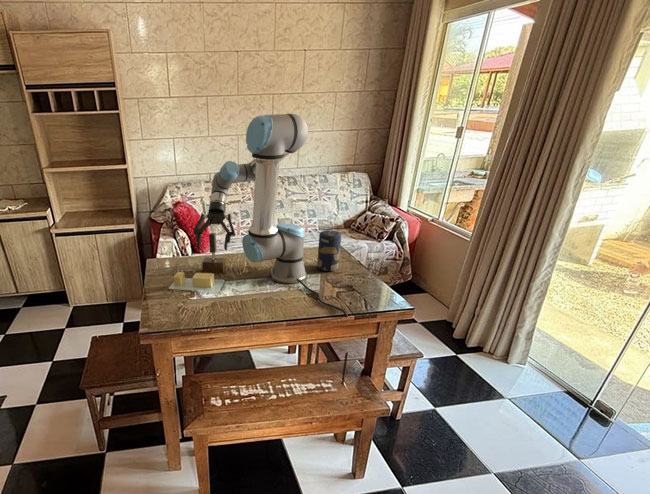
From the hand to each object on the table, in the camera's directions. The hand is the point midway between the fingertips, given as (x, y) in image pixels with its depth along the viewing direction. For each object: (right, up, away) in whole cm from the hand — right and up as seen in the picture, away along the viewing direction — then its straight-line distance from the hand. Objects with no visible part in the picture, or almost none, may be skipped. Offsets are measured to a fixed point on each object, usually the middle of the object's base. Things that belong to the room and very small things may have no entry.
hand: (211, 248), depth 180 cm
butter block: (-3, -17, -6) cm, 18 cm away
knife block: (+1, -9, +8) cm, 13 cm away
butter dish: (-6, -17, -5) cm, 19 cm away
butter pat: (-14, -16, -4) cm, 21 cm away
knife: (+1, -8, +8) cm, 12 cm away
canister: (+53, -8, +7) cm, 54 cm away
